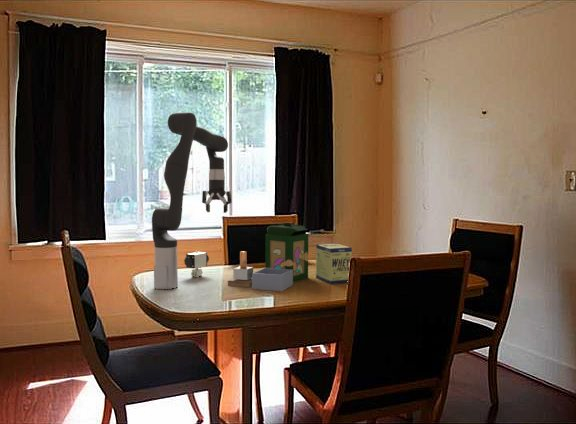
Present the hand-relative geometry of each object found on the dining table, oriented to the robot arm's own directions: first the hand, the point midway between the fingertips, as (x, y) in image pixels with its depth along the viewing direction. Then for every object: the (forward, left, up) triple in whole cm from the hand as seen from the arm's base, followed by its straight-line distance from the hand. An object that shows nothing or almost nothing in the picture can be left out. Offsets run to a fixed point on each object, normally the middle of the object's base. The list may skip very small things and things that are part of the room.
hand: (216, 212), depth 273 cm
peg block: (-25, -25, -26) cm, 44 cm away
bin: (-26, -39, -28) cm, 55 cm away
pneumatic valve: (-18, +2, -29) cm, 34 cm away
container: (-7, -38, -29) cm, 48 cm away
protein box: (-3, -59, -29) cm, 66 cm away
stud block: (-25, -25, -28) cm, 45 cm away
